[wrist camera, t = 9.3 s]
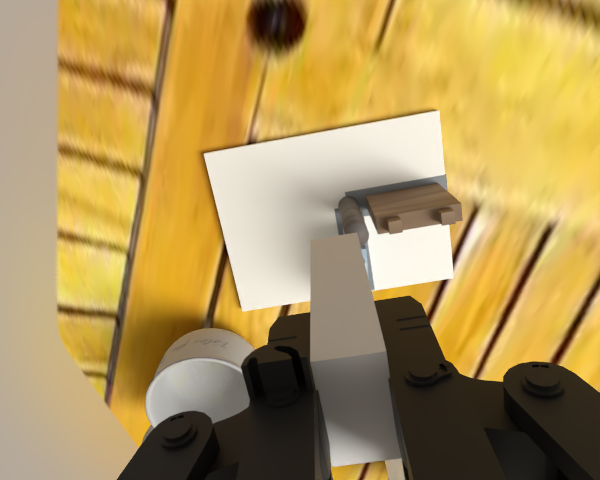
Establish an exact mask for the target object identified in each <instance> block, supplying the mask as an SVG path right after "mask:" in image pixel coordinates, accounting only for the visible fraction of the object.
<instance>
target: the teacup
mask: <svg viewBox="0 0 600 480" xmlns="http://www.w3.org/2000/svg"><path fill="white" fill-rule="evenodd" d="M254 350H255V349H254V348H253V347H252V345H251V344H250V343H249V342H248V341H246V340H245V339H244V338H242V337H241V336H239V335H238V334H236V333H233V332H231V331H228V330H224V329H218V328H204V329H199V330H195V331H192V332H189V333H187V334H185V335H184V336H182V337H180V338H179V339H178V340H176V341H175V342H174V343H173V344H172V345H171V346H170V347H169V349H168V350H167V351H166V353H165V355H164V356H163V358H162V360H161V362H160V364H159V366H158V369H157V371H156V373H155V376H154V378H153V380H152V381H151V383H150V385H149V387H148V390H147V392H146V397H145V410H146V413H147V417H148V419H149V421H150V423H151V426H150V427H149V429H148V430H147V432H146V434H145V436H144V438H143V442H144V440H145V439H146V438H147V436H148V435H149V433H150V432H151V431H152V430H153V429H154V428H155V427H156V426H157V425H158V424H159V423H160V422H162V421H164V420H165V419H167V418H168V417H170V416H173V415H175V414H178V413H181V412H186V411H199V412H204V413H205V414H207V415H208V416H209V417H210V418H211V420H212V423H216V422H218V421H221V420H224V419H226V418H229V417H231V416H234V415H236V414H238V413H240V412H241V411H243V410H244V409H246V408H247V407H249V402H250V399H249V395H248V391H247V388H246V384H245V380H244V377H243V373H242V370H241V365H242V363H243V361H244V359H245V358H246V357H247V356H248V355H249V354H250V353H251V352H252V351H254ZM143 442H142V443H143Z"/></svg>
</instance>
